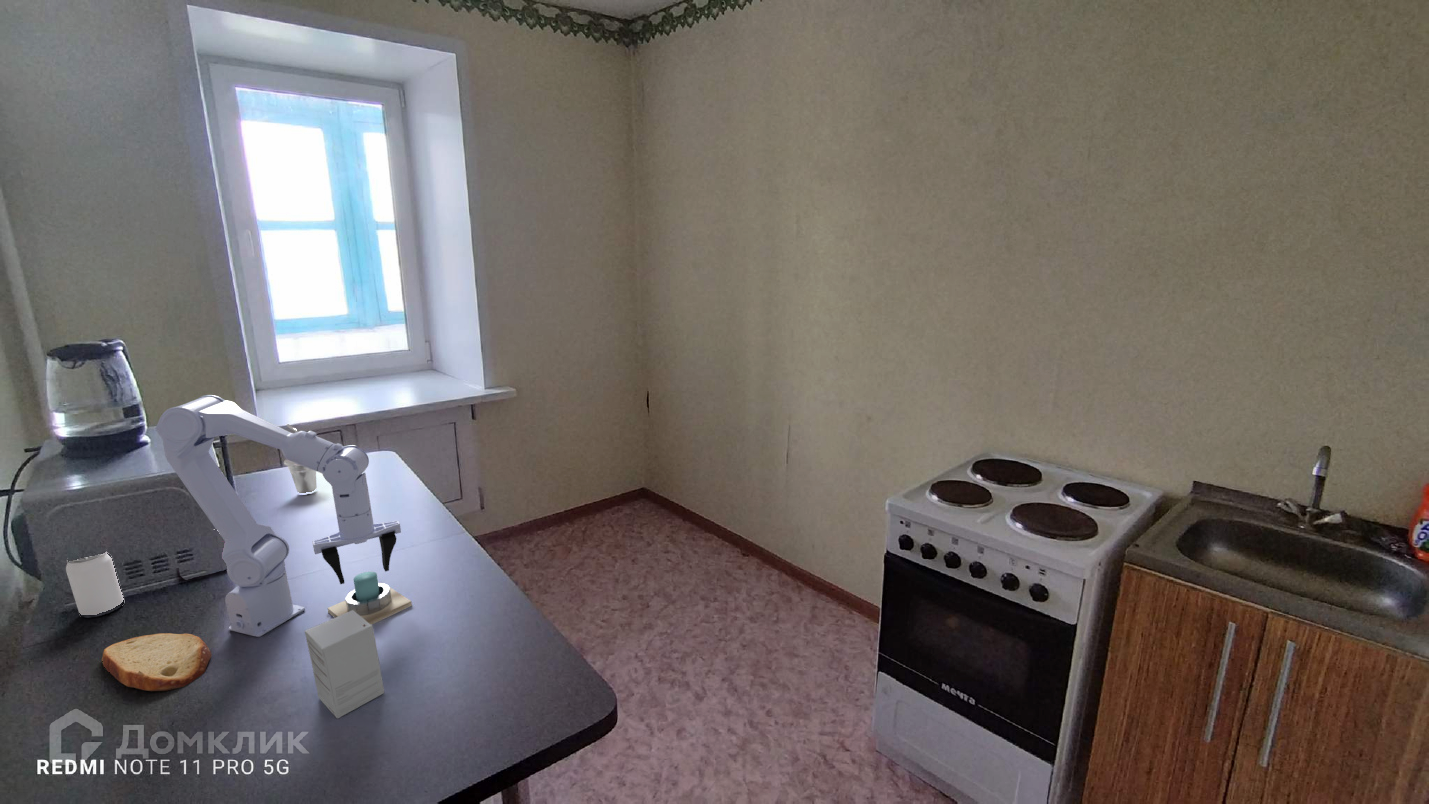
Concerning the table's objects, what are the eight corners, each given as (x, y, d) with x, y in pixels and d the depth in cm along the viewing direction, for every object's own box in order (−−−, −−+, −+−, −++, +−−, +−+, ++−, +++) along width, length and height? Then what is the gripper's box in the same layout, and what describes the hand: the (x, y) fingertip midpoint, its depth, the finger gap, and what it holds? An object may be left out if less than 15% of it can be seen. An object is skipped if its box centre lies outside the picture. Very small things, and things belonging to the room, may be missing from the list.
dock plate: (411, 605, 123) (411, 601, 123) (354, 632, 115) (353, 628, 115) (384, 587, 130) (384, 583, 130) (328, 612, 121) (327, 608, 121)
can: (134, 601, 126) (118, 547, 123) (100, 620, 119) (83, 564, 116) (105, 599, 126) (89, 546, 123) (70, 618, 120) (53, 563, 117)
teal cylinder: (369, 611, 120) (365, 583, 118) (352, 607, 121) (348, 580, 119) (385, 600, 124) (381, 573, 122) (369, 596, 125) (365, 570, 123)
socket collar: (369, 618, 118) (367, 607, 117) (338, 611, 120) (336, 600, 119) (399, 597, 124) (397, 586, 124) (370, 591, 127) (368, 580, 126)
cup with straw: (288, 501, 174) (275, 433, 169) (291, 490, 182) (279, 424, 177) (323, 494, 178) (311, 428, 173) (325, 484, 186) (314, 420, 181)
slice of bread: (112, 649, 111) (107, 631, 110) (233, 626, 118) (229, 609, 117) (53, 718, 95) (47, 698, 94) (197, 687, 102) (192, 668, 101)
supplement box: (366, 674, 104) (354, 608, 101) (385, 694, 99) (374, 625, 96) (317, 698, 98) (303, 629, 95) (335, 720, 94) (321, 648, 91)
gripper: (310, 529, 110) (323, 596, 113) (400, 508, 118) (409, 571, 122) (307, 515, 115) (319, 580, 119) (392, 496, 124) (401, 557, 127)
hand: (364, 575), depth 120 cm, fingers open, 7 cm apart
